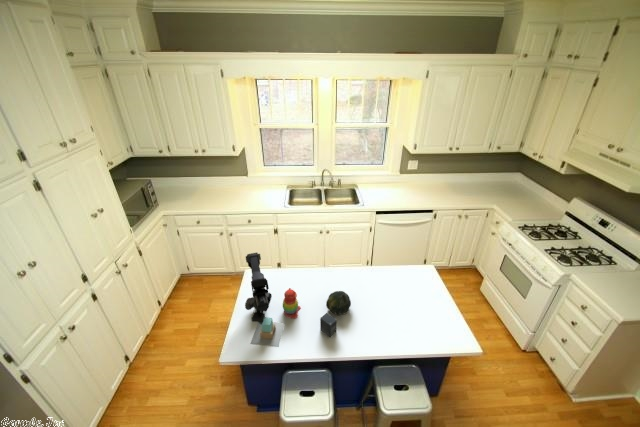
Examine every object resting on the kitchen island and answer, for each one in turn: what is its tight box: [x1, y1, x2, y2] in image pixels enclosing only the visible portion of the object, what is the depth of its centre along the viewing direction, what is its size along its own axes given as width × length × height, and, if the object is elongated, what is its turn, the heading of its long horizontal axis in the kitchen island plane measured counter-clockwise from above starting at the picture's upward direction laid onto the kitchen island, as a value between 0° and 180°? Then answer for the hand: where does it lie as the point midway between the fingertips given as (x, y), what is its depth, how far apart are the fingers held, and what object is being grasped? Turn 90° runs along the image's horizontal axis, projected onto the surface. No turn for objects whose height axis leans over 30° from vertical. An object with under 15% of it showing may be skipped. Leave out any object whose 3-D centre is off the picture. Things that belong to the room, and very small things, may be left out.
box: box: [319, 312, 338, 339], centre depth 168 cm, size 8×6×11 cm
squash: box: [325, 290, 352, 316], centre depth 182 cm, size 14×15×15 cm
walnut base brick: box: [260, 324, 276, 339], centre depth 168 cm, size 7×7×4 cm
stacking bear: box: [282, 287, 302, 320], centre depth 179 cm, size 11×10×18 cm
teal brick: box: [261, 316, 274, 332], centre depth 165 cm, size 5×5×6 cm
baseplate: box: [250, 321, 286, 348], centre depth 169 cm, size 16×16×1 cm
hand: (263, 317), depth 164 cm, fingers open, 9 cm apart
